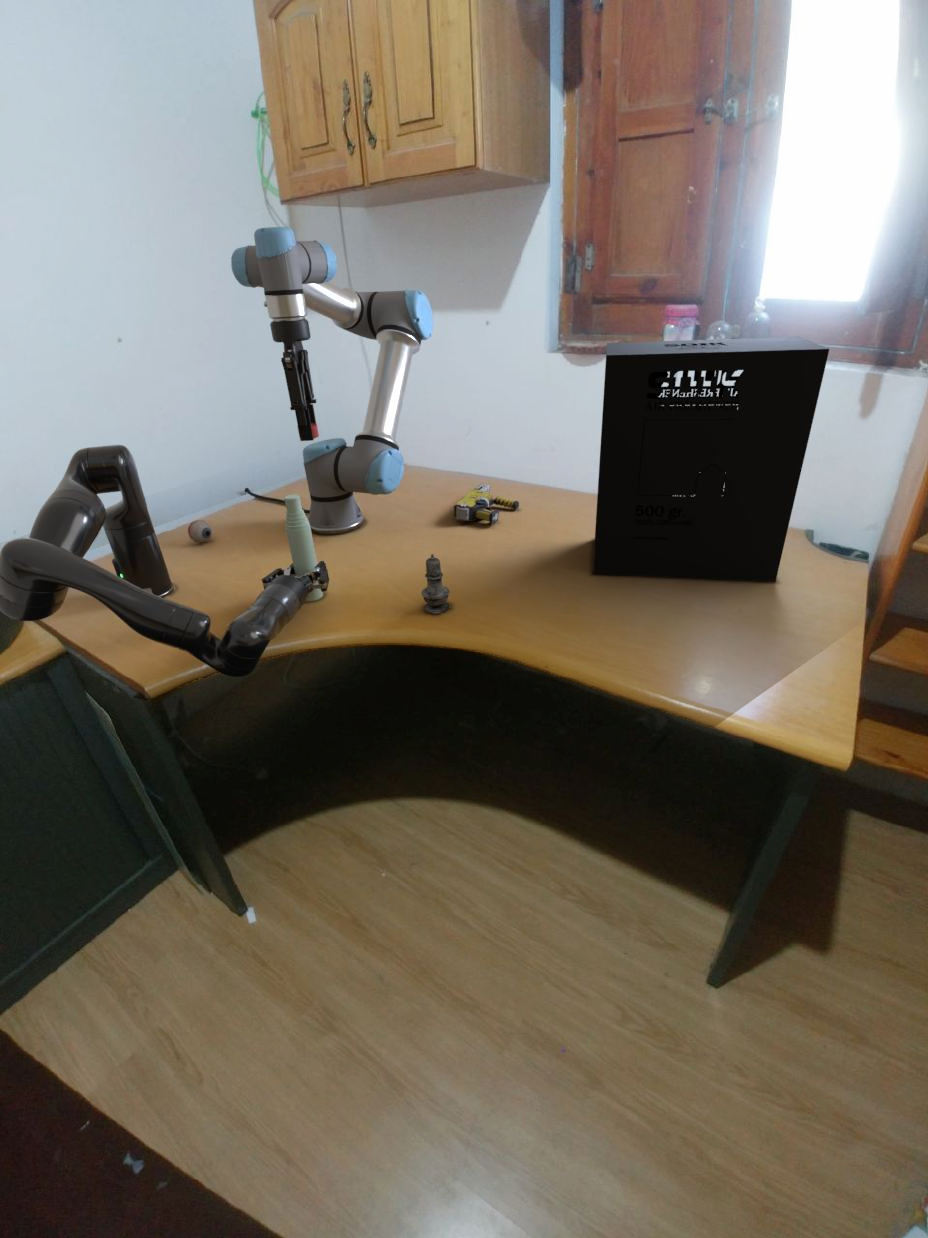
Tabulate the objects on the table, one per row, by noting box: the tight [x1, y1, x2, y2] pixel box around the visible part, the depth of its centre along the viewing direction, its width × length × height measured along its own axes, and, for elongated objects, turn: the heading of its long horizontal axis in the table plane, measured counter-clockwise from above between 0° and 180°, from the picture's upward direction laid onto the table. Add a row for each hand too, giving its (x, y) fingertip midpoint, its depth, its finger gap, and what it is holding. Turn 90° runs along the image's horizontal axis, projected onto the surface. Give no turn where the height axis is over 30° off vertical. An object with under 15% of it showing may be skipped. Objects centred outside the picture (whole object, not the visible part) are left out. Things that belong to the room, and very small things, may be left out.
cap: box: [297, 422, 320, 439], centre depth 132 cm, size 4×4×3 cm
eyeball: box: [187, 519, 213, 544], centre depth 162 cm, size 6×6×6 cm
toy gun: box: [452, 482, 520, 526], centre depth 172 cm, size 5×24×15 cm
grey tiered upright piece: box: [420, 553, 451, 614], centre depth 122 cm, size 6×6×12 cm
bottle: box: [283, 493, 324, 603], centre depth 127 cm, size 5×5×23 cm
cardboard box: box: [592, 336, 830, 583], centre depth 128 cm, size 38×20×45 cm, turn 78°
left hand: (310, 564), depth 131 cm, fingers closed on bottle, 5 cm apart
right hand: (309, 437), depth 132 cm, fingers closed on cap, 4 cm apart
